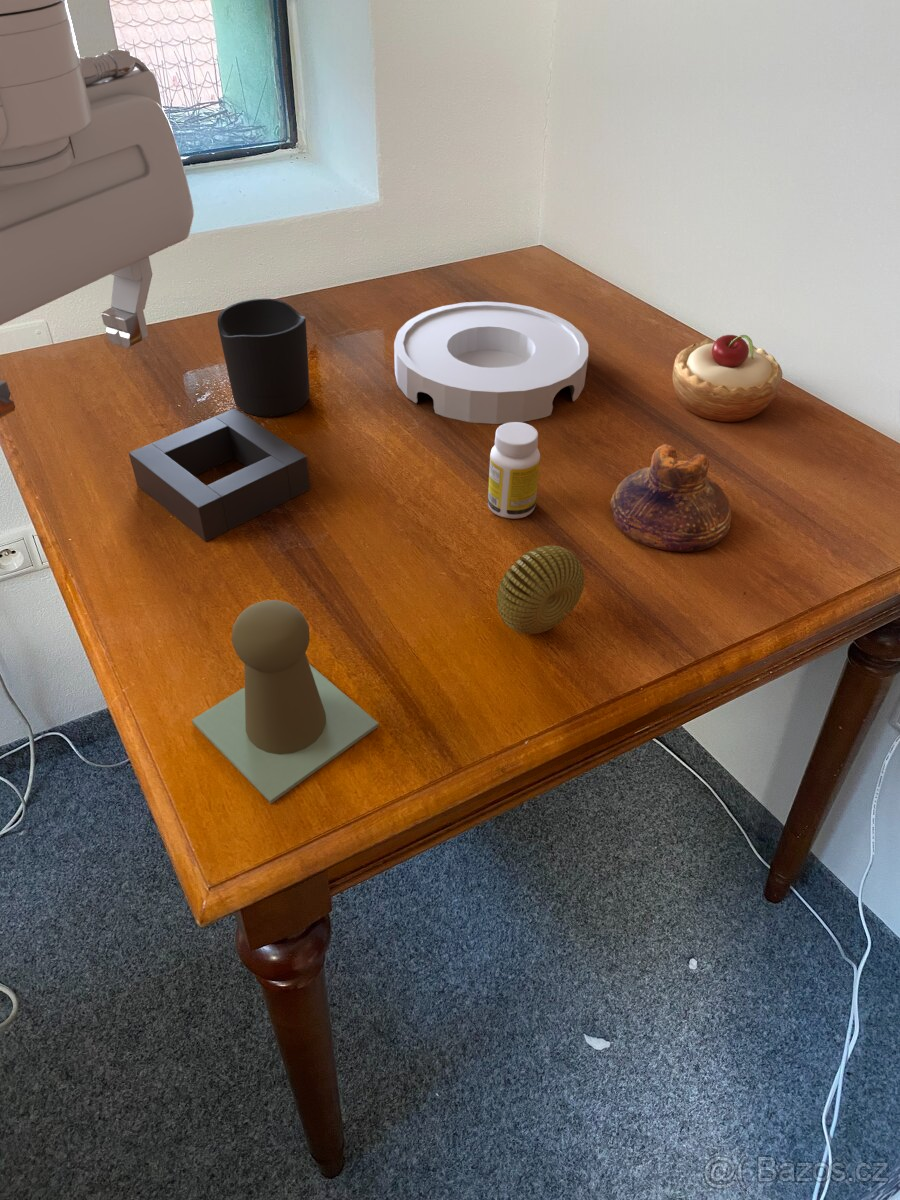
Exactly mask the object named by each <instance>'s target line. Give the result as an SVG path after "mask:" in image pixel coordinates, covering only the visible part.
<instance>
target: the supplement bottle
mask: <svg viewBox="0 0 900 1200" xmlns="http://www.w3.org/2000/svg"><path fill="white" fill-rule="evenodd" d="M538 442H539V432H538V431H537V429H536V428H535V427H534V426H533V425H531V424H528V423H527V422H510V423H505V424H500V425H498V427H497V428H496V430H495V437H494V445H493V446H492V448H491V450H490V454H489V471H488V473H489V474H488V490H487V506H488V508H489V510H490V511H491V512H492V513H493V514H495V515H496V516H499V517H501V518H505V519H512V520H513V519H514V520H515V519H522V518H525V517H527V516H529V515H531V514H532V513H533V512H534V510H535V508H536V505H537V496H538V494H537V493H538V484H539V476H540V475H539V474H540V462H541V452H540V450H539V448H538V445H539V444H538Z"/></svg>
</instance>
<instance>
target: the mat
mask: <svg viewBox="0 0 900 1200" xmlns="http://www.w3.org/2000/svg"><path fill="white" fill-rule="evenodd" d="M309 665H310V668H311V671H312V674H313V677H314V680H315V683H316V686H317V689H318V692H319V695H320V698H321V701H322V704H323V707H324V710H325V713H326V725H325V728H324V730H323V733H322V734H321V735H320V737H319V738H318V739H317V740H316V742H314V743H313V744H311V745H310V746H308V747H307V748H306V749H303V750H300V751H298V752H295V753H290V754H281V755H279V754H273V753H267V752H265V751H263V750H261V749H258V748H257V747H256V746H255V745H254V744H253V743H252V742H251V741H250V740H249V738H248V736H247V733H246V724H245V686H244V687H242V688H240V689H239V690H237V691H236V692H234V693H232V694H231V695H229V696H227V697H226V698H225V699H223V700H221V701H219V702H218V703H216V704H215V705H213V706H212V707H210V708H208V709H207V710H205V711H204V712H202V713H200V714H199V715H197V716H196V717H194V718H192V719H191V723H192V725H193V726H194V727H196V728H197V729H198V731H199V732H201V734H202V735H203V736H204V737H205V738H206V739H207V740H208V741H209V742H210V743H211V744H212V745H213V747H215V748H216V749H217V750H218V751H219V752H220V753H221V754H222V755H223V756H224V757H225V758H226V759H227V761H229V762H230V764H231V765H233V766H234V768H235V769H236V770H238V772H239V773H240V774H241V775H242V776H243V777H244V778H245V779H246V780H247V781H248V782H249V783H250V784H251V785H252V786H253V787H254V788H255V789H256V790H257V791H258V792H259V794H261V795H262V796H263V797H264V799H266V800H267V801H268V802H269V804H273V803H274V802H276V801H277V800H279V799H280V798H282V797H283V796H284V795H285V794H287V793H288V792H290V791H291V790H292V789H294V788H295V787H296V786H298V785H300V784H301V783H303V782H304V781H305V780H306V779H308V778H309V777H310V776H312V775H313V774H315V773H316V772H317V771H319V770H320V769H321V768H323V767H325V766H327V764H329V763H330V762H331V761H333V760H335V758H338V756H340V755H341V754H343V753H344V752H345V751H346V750H348V749H349V748H351V747H352V746H354V745H355V744H357V742H359V741H361V740H362V739H363V738H364V737H366V736H367V735H369V734H370V733H372V732H373V731H375V730H376V729H377V728H378V727H379V726H380V725H379V722H378V721H377V720H376V719H374V718H373V716H371V715H370V714H369V713H368V712H366V711H365V710H364V709H363V708H362V707H361V706H360V705H358V704H357V703H356V702H354V700H352V699H351V698H350V697H349V696H347V695H346V694H345V693H344V692H343V691H342V690H340V689H339V688H338V687H337V686H336V685H335V684H334V683H332V682H331V681H330V680H329V679H328V678H327V677H325V676H324V675H323V674H322V673H321V672H319V671H318V669H316V668H315V667H314V666H313V665H311V664H310V663H309Z"/></svg>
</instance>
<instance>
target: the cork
mask: <svg viewBox="0 0 900 1200" xmlns="http://www.w3.org/2000/svg"><path fill="white" fill-rule="evenodd" d="M231 631H232V633H231V643H232V647H233V649H234V651H235V654H236V656H237V657H238V658H239V660H240V661H241V662H242V663H243V664H244V687H245V724H246V733H247V736H248V738H249V740H250V741H251V742H252V743H253V744H254V745H255V746H256V747H257V748H258V749H261V750H263V751H265V752H267V753H273V754H279V755H281V754H290V753H295V752H298V751H300V750H303V749H306V748H307V747H308V746H310V745H311V744H313V743H314V742H316V740H317V739H318V738H319V737H320V735H321V734H322V733H323V730H324V728H325V725H326V713H325V710H324V707H323V704H322V701H321V698H320V695H319V692H318V689H317V686H316V683H315V680H314V677H313V674H312V671H311V668H310V665H311V664H310V662H309V659H308V656H307V654H306V652H307V650H308V647H309V644H310V641H311V639H310V638H311V637H310V624H309V623H308V621H307V619H306V617H305V615H304V613H303V612H302V611H301V610H300V609H298V608H297V607H296V606H295V605H293V604H292V603H289V602H286V601H284V600H277V599H269V600H261V601H259V602H255V603H253V604H251V605H249V606H247V607H246V608H245V609H243V611H241V613H239V615H238V616H237V618H236V620H235V622H234V624H233V626H232V630H231ZM309 664H310V665H309Z"/></svg>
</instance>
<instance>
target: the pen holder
mask: <svg viewBox="0 0 900 1200" xmlns="http://www.w3.org/2000/svg"><path fill="white" fill-rule="evenodd" d="M306 320H307V319H306V316H304V315H302V314H301V313H299V311H298V310H297V309H295V308H294V307H293V306H292V305H290V304H288V302H285V301H283V300H280V299H276V298H253V299H247V300H242V301H239V302H236V303H233V304H231V305H228V306H227V307H225V308H224V309H222V310H221V311H220V312H219V314H218V316H217V328H218V329H217V330H218V332H219V333H218V334H219V339H220V342H221V348H222V352H223V357H224V361H225V367H226V371H227V375H228V380H229V384H230V389H231V393H232V398H233V402H234V403H235V405H236V406H237V407H238V408H239V409H240V410H241V411H242V412H244V413H247V414H248V415H252V416H254V417H255V416H256V417H263V418H274V417H275V418H276V417H282V416H286V415H290V414H292V413H295V412H296V411H299V410H300V409H301V408H302V407H304V405H306V403H307V402H308V400H309V397H310V374H309V373H310V371H309V356H308V338H307V337H308V335H307V324H306V323H307V321H306Z"/></svg>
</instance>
